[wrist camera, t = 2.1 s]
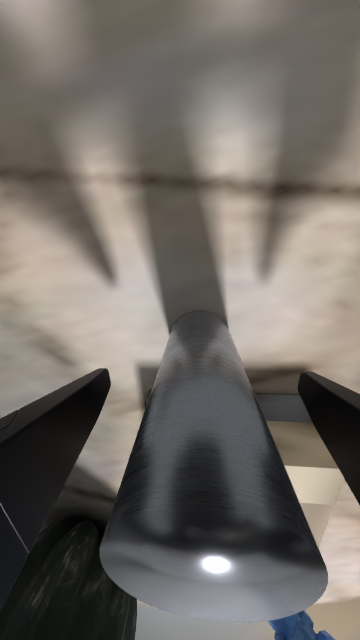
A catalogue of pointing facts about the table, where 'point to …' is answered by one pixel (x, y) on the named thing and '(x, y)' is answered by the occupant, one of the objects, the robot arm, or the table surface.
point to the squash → (67, 591)
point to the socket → (302, 458)
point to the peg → (210, 495)
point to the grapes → (297, 628)
